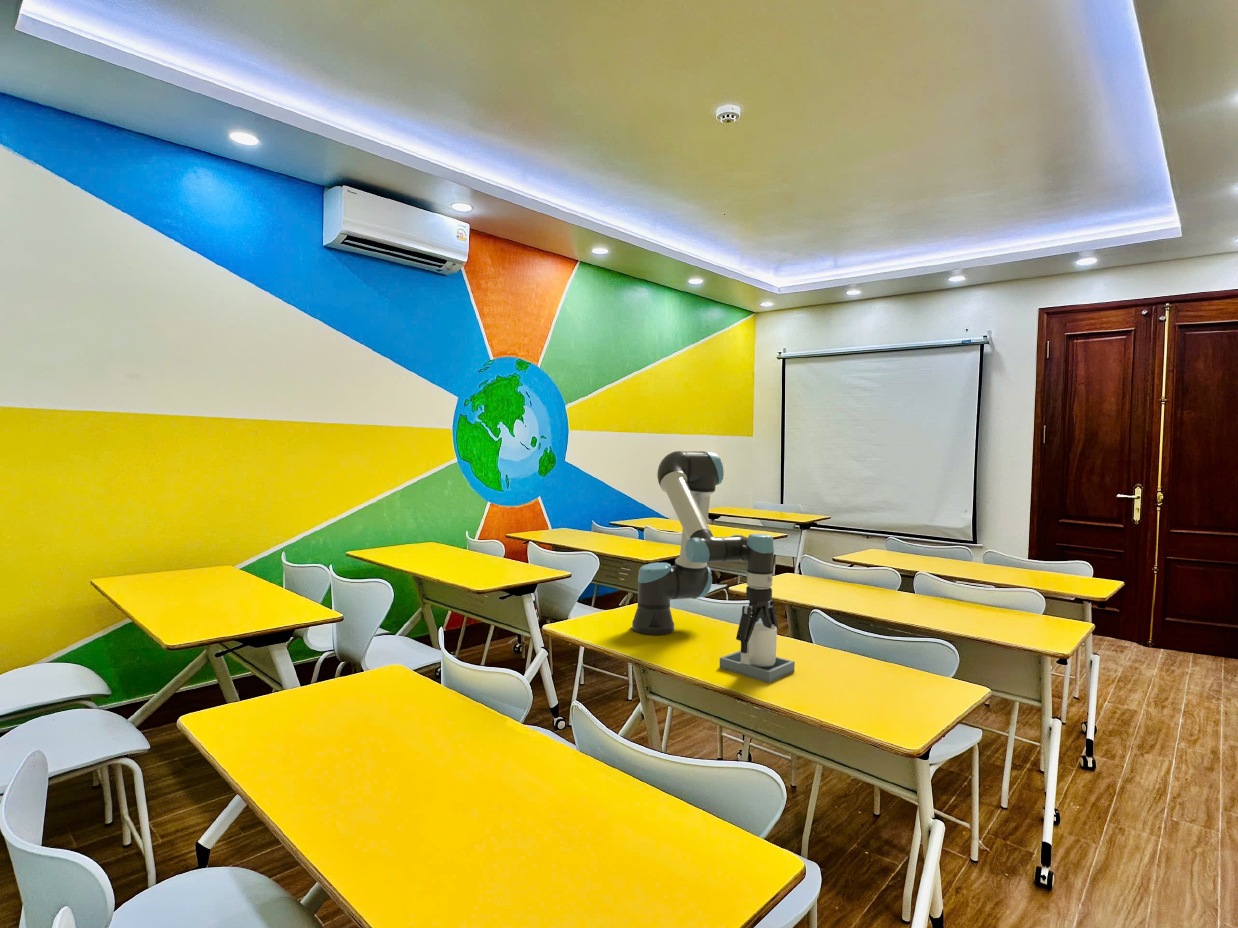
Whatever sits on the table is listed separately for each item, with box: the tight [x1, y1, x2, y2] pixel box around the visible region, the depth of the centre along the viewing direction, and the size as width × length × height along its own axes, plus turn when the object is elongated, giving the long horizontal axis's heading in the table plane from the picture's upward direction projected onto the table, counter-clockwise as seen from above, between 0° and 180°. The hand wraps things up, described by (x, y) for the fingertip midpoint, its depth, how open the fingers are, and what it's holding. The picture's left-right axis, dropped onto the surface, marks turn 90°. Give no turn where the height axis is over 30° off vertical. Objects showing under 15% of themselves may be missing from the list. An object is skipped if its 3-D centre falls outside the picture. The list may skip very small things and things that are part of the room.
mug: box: [749, 622, 778, 667], centre depth 199 cm, size 9×12×11 cm
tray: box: [719, 649, 796, 684], centre depth 199 cm, size 17×14×3 cm
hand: (756, 658), depth 199 cm, fingers closed on mug, 12 cm apart
